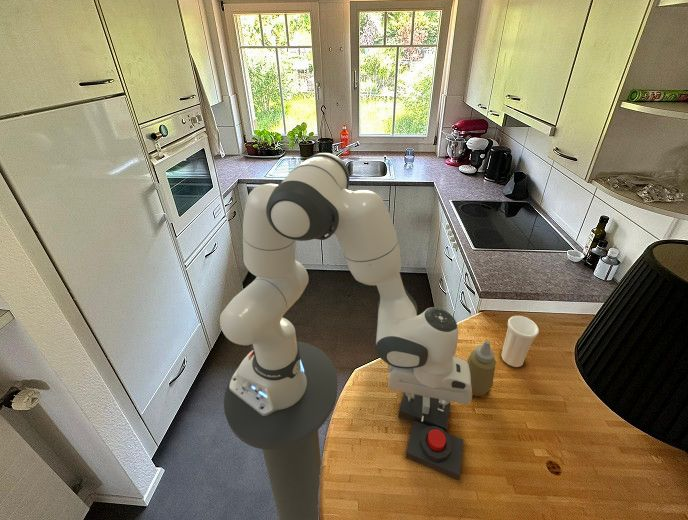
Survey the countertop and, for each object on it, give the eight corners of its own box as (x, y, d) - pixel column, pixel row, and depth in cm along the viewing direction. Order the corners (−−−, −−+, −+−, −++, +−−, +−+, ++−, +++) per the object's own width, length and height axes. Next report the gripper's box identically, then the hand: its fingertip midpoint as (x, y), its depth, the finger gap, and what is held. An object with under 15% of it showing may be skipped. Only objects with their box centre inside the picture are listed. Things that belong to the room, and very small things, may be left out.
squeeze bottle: (459, 395, 89) (471, 350, 81) (460, 371, 96) (470, 327, 87) (491, 404, 87) (506, 358, 78) (489, 378, 94) (502, 334, 85)
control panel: (397, 419, 83) (398, 412, 82) (406, 388, 91) (407, 381, 89) (445, 437, 79) (446, 430, 78) (449, 404, 87) (451, 396, 85)
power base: (405, 457, 76) (406, 448, 74) (413, 425, 82) (414, 415, 80) (458, 480, 72) (461, 471, 70) (461, 444, 78) (464, 434, 76)
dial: (428, 414, 81) (429, 406, 80) (422, 413, 82) (423, 405, 80) (428, 396, 86) (429, 388, 84) (422, 395, 86) (424, 387, 84)
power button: (425, 447, 74) (426, 443, 73) (429, 430, 77) (429, 426, 77) (443, 454, 73) (444, 450, 72) (446, 437, 76) (447, 433, 75)
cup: (528, 373, 95) (541, 339, 88) (498, 366, 97) (509, 332, 90) (524, 352, 102) (536, 318, 95) (496, 345, 104) (506, 312, 97)
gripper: (387, 370, 76) (384, 405, 82) (478, 387, 72) (467, 423, 79) (389, 348, 81) (387, 383, 88) (474, 363, 78) (465, 398, 84)
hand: (425, 402), depth 83 cm, fingers open, 6 cm apart
